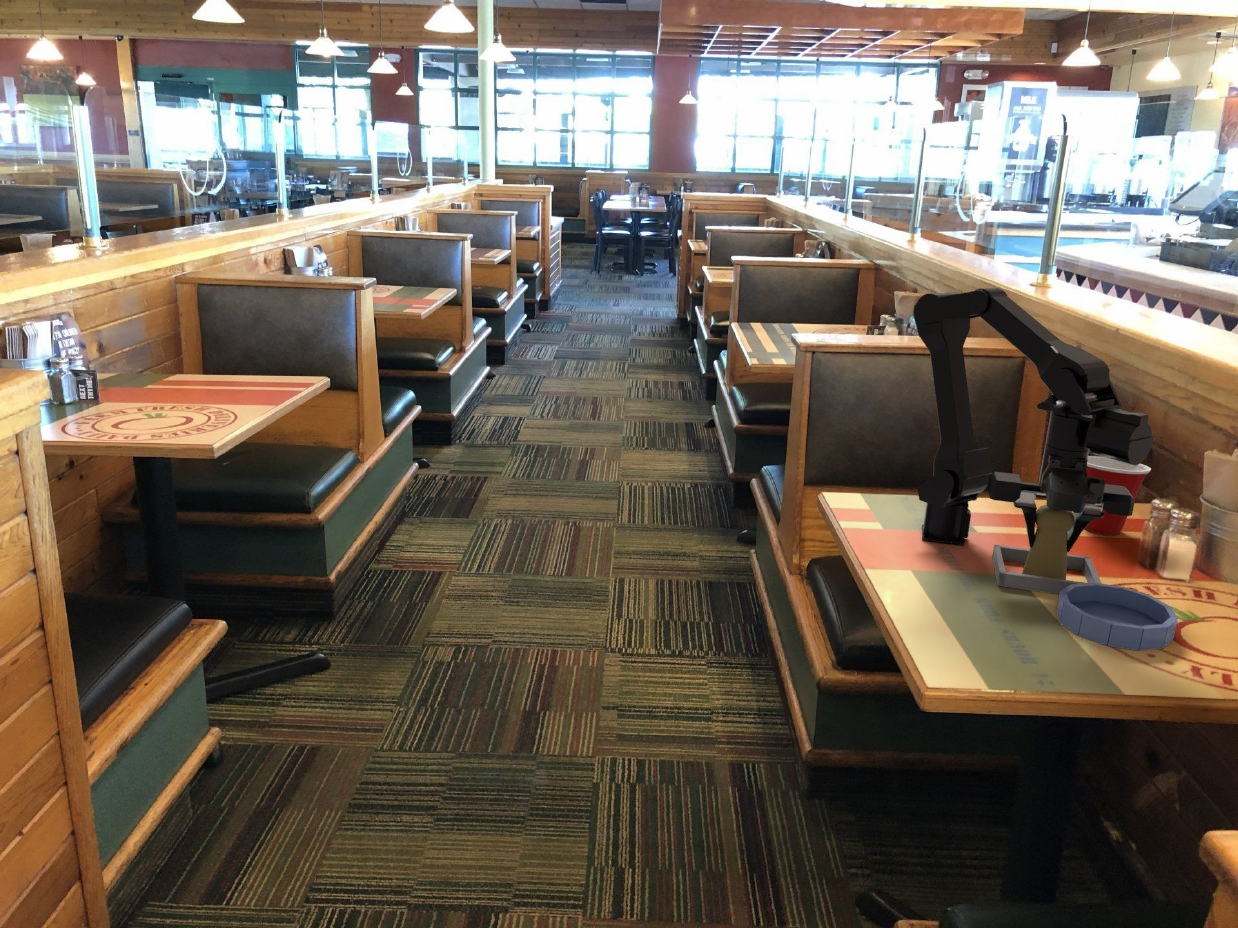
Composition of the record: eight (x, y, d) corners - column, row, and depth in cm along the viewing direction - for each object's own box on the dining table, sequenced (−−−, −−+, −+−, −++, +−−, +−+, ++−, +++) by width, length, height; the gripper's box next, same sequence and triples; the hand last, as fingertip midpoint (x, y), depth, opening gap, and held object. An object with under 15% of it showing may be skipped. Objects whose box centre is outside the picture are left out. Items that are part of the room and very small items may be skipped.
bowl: (1064, 639, 125) (1068, 618, 124) (1051, 596, 138) (1055, 577, 137) (1182, 657, 121) (1187, 635, 121) (1158, 611, 134) (1162, 591, 133)
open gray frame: (997, 585, 141) (1000, 572, 140) (992, 556, 151) (994, 544, 151) (1100, 600, 137) (1103, 586, 136) (1087, 569, 148) (1089, 557, 147)
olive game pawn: (1058, 570, 147) (1070, 501, 144) (1071, 587, 141) (1085, 515, 138) (1016, 567, 147) (1028, 498, 144) (1028, 584, 142) (1041, 512, 138)
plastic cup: (1136, 525, 168) (1150, 458, 164) (1138, 545, 158) (1153, 475, 155) (1067, 513, 172) (1079, 448, 168) (1065, 533, 162) (1078, 464, 159)
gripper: (1001, 453, 133) (984, 559, 138) (1152, 469, 128) (1129, 579, 133) (995, 433, 143) (980, 533, 148) (1135, 447, 139) (1114, 550, 143)
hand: (1048, 548), depth 143 cm, fingers open, 5 cm apart
